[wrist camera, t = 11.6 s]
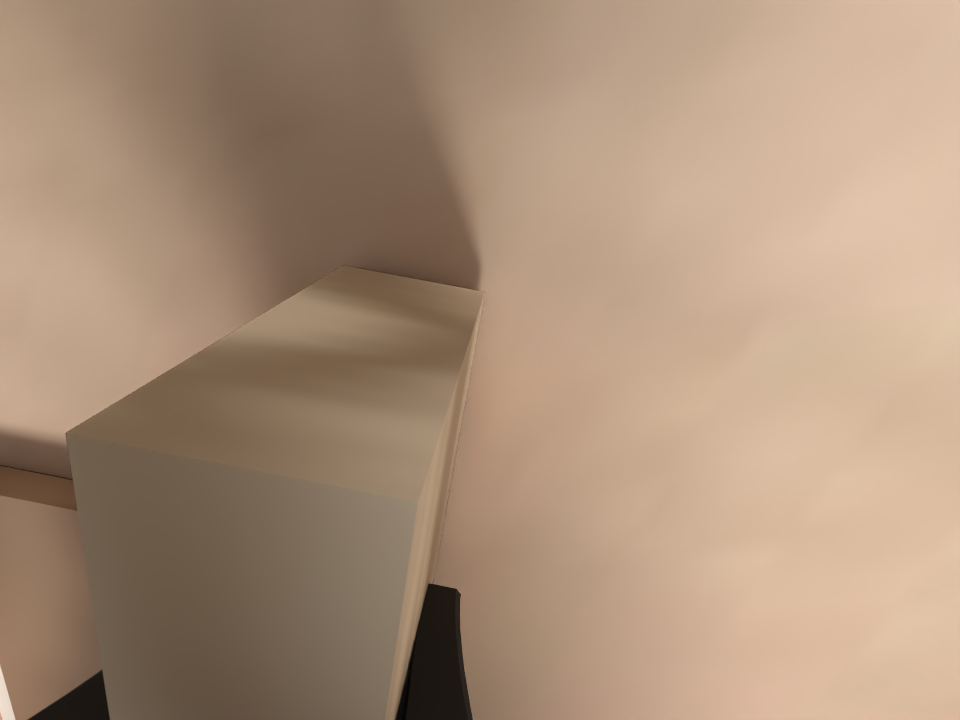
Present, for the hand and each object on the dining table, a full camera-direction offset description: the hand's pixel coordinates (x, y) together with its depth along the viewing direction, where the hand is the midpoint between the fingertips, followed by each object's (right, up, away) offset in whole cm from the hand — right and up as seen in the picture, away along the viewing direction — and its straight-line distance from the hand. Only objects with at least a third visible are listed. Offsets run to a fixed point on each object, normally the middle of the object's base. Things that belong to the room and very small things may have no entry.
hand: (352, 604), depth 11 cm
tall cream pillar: (0, +1, +2) cm, 3 cm away
